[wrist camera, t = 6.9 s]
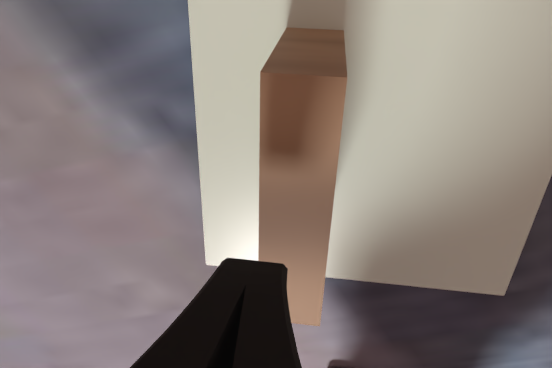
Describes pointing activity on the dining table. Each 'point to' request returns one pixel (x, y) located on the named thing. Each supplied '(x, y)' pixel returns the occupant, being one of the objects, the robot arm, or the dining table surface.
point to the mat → (391, 133)
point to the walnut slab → (300, 160)
